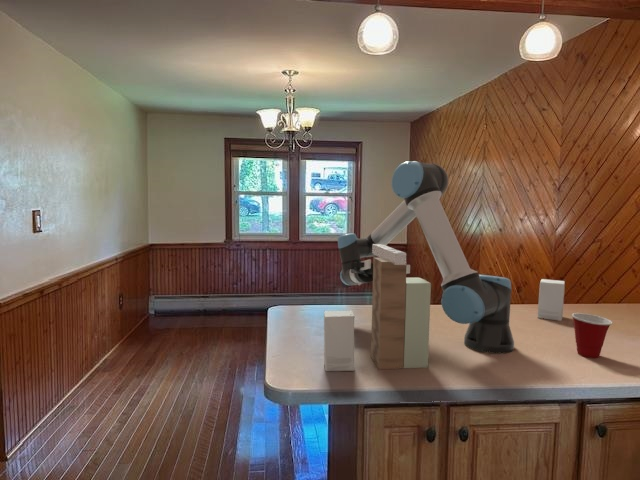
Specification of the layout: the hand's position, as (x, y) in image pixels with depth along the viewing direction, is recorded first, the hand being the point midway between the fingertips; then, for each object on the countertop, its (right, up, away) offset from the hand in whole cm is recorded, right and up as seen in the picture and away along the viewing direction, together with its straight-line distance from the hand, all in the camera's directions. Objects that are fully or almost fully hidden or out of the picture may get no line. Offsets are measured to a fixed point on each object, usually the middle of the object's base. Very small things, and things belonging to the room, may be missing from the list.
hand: (389, 266), depth 141 cm
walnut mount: (-3, -27, -11) cm, 30 cm away
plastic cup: (+61, -27, -2) cm, 67 cm away
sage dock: (+4, -27, -10) cm, 29 cm away
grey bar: (-2, +3, -12) cm, 13 cm away
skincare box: (-17, -28, -16) cm, 36 cm away
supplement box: (+72, -24, +43) cm, 87 cm away
